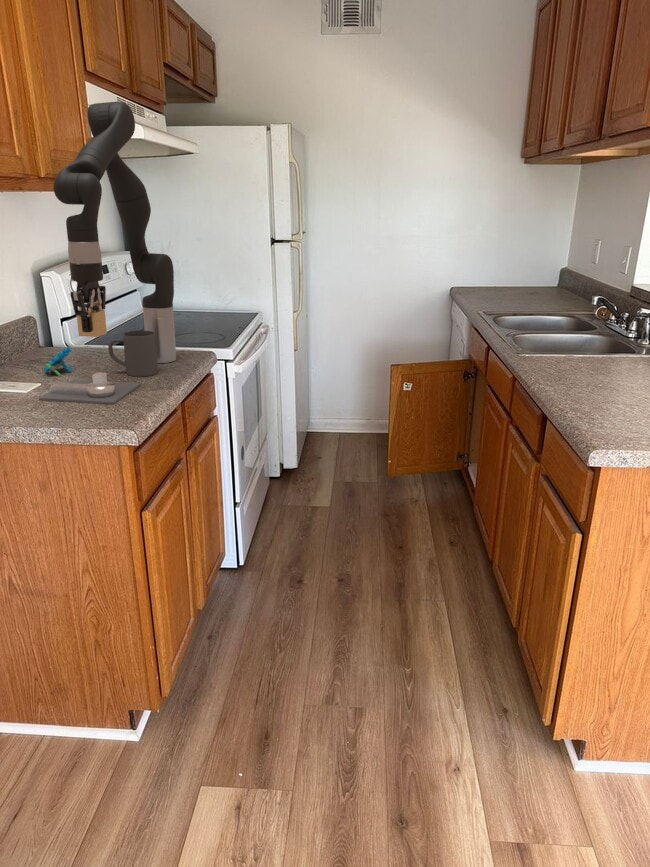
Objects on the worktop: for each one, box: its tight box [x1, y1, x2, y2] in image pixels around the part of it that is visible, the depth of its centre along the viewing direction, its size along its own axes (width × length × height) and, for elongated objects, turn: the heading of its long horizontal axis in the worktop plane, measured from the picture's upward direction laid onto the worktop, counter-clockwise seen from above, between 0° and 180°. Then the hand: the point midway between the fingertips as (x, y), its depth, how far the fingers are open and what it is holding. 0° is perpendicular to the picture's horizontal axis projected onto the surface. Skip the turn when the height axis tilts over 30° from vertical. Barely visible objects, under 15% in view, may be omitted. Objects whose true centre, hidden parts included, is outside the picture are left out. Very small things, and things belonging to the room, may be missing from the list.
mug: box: [107, 329, 159, 378], centre depth 189 cm, size 14×9×12 cm
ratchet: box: [49, 372, 115, 398], centre depth 168 cm, size 7×16×6 cm, turn 83°
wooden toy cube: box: [76, 308, 108, 338], centre depth 162 cm, size 5×5×6 cm
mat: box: [38, 379, 142, 405], centre depth 171 cm, size 18×20×1 cm
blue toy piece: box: [44, 346, 72, 377], centre depth 189 cm, size 11×6×10 cm
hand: (92, 329), depth 162 cm, fingers closed on wooden toy cube, 5 cm apart
